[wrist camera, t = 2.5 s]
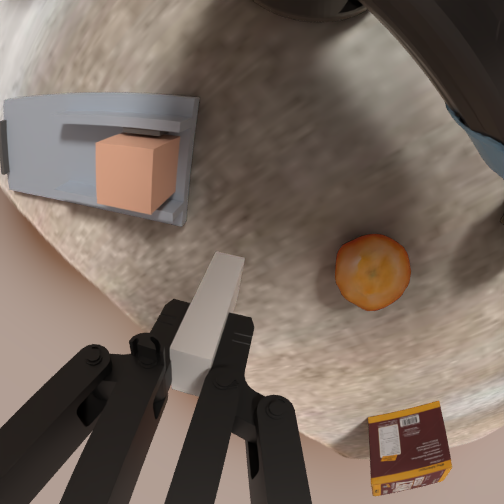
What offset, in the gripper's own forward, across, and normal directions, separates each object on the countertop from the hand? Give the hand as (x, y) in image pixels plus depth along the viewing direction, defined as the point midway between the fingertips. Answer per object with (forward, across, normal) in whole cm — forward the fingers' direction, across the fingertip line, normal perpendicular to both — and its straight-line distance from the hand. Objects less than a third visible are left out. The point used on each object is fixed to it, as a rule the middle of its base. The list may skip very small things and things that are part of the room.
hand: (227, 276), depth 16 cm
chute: (+17, -23, 0) cm, 29 cm away
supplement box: (+18, +38, -41) cm, 59 cm away
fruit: (+18, +13, -6) cm, 23 cm away
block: (+16, -12, 0) cm, 20 cm away
